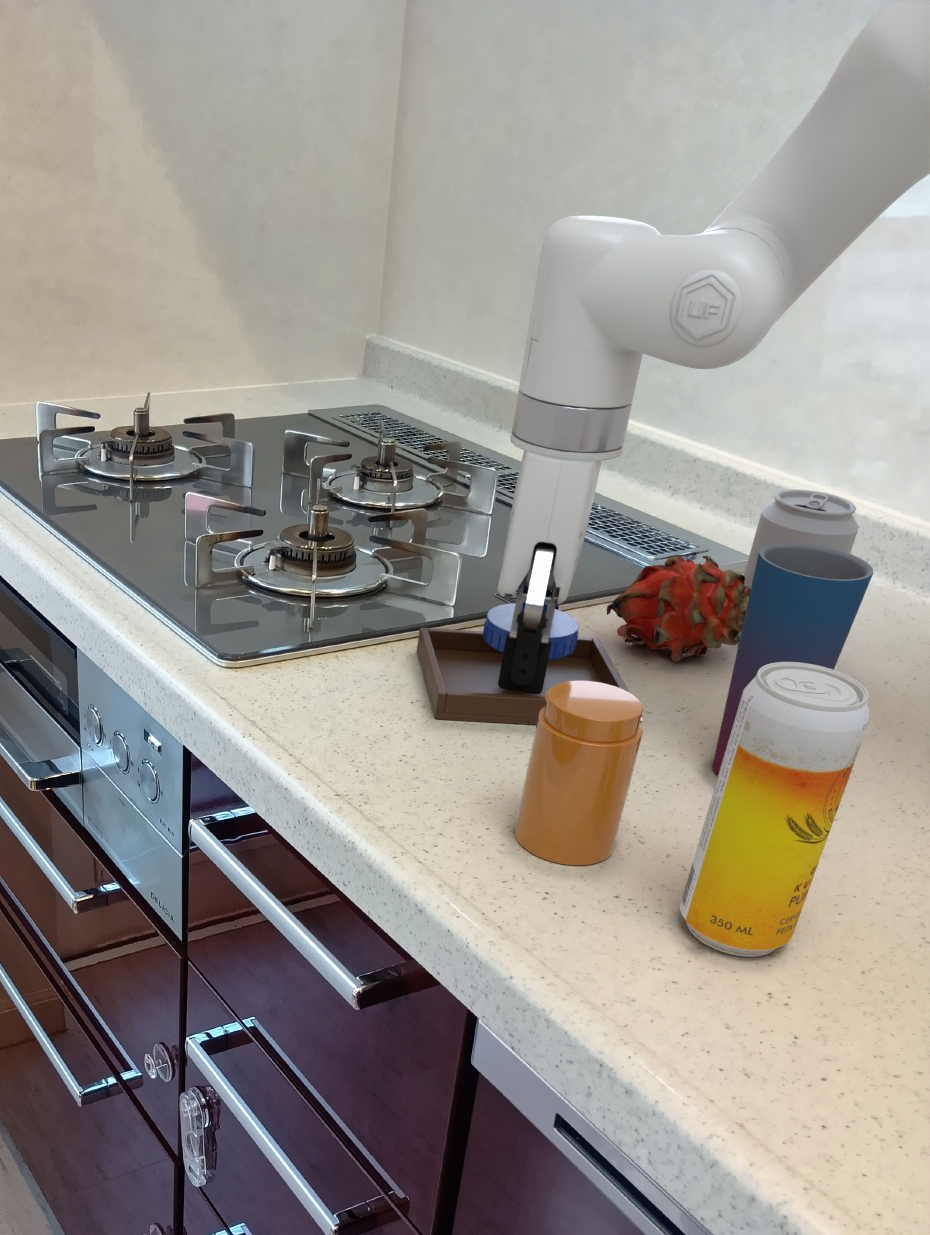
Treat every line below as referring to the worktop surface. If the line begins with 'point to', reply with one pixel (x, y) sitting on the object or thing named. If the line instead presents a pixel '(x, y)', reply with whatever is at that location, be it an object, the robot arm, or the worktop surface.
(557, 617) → the lid
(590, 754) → the jar
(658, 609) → the dragon fruit
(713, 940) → the beer can
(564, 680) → the tray
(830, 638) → the cup
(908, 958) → the worktop surface
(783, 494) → the can
